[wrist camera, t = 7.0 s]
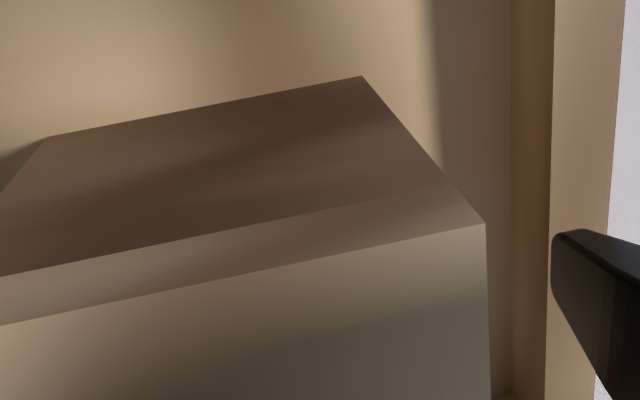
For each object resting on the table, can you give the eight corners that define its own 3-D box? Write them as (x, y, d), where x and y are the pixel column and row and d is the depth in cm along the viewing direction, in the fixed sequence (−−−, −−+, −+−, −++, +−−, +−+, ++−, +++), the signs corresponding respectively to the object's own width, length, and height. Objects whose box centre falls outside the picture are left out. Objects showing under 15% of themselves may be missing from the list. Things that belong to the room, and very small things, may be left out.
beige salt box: (362, 75, 9) (495, 235, 5) (393, 320, 11) (502, 592, 7) (46, 136, 9) (-149, 372, 4) (142, 376, 11) (82, 698, 7)
